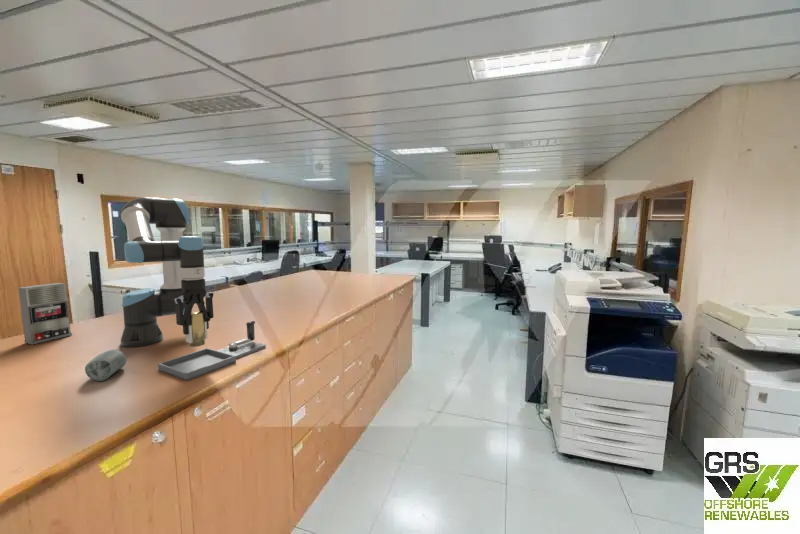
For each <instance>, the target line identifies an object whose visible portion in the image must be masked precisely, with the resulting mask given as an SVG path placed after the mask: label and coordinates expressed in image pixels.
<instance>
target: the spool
mask: <svg viewBox="0 0 800 534" xmlns="http://www.w3.org/2000/svg"><path fill="white" fill-rule="evenodd" d="M126 364H127V357H126V355H125V353H124V352H123V351H120V349H119V350H118V349H109V350H105V351H104V352H102V353H100V354H98V355H96V356H95V357H94V358H92V359H91V360H90V361H89V362H88V363H87V364H86V365H85V367H84V372H85V374H86V376H87V377H88V378H89V379H91V380H92V381H96V382H103V381H106V380H108V379H109V378H110V377H111V376H112V375H113V374H115V373H116V372H117V371H119V370H121V369H122V368H124V366H125V365H126Z"/></svg>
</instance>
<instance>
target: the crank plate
mask: <svg viewBox="0 0 800 534" xmlns="http://www.w3.org/2000/svg"><path fill="white" fill-rule="evenodd" d="M266 346H267V345H266V344H264V343H259V342H255V341H250V342H247V343H244V344H241V345H238V346H237V349H233V350H230V349H229V345H228V346H226V347H223V348H219V349H218V350H217V351H220V352H224V353H227V354H231V355H234V356H236V360H237V359H238V358H242V357H244V356H248V355H250V354H252V353H255V352H257V351H260V350H262V349H265V348H267V347H266Z"/></svg>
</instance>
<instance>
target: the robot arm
mask: <svg viewBox="0 0 800 534" xmlns="http://www.w3.org/2000/svg"><path fill="white" fill-rule="evenodd" d="M189 211H190V210H189V208H188V204H187V202H185V201H184V200H183V199H180V198H171V197H169V198H165V197H148V196H141V197H137V198H134V199H131V200H129V201H128V202H126V204H124V205H123V207H122V208H121V210H120V219H121V221H122V223H123V224H124V225H125V227H126V228H125V229H126V232H127V237H128V241H127V242H125V243H124V244H123V245H124V246H123V249H124V250H123V251H124V259H125V261H126V262H127V263H132V264H133V263H134V264H135V263H136V264H142V263H157V262H162V274H163V276H162V277H163V283H162V285H160V286H159V289H160V290H159V291H156V290H155V289H154V288H143V289H137V290H132V291H129V292H128V293H125V294H124V295H122V298H121V299H122V304H121V306H122V309H123V312H122V313H123V324H124V325H123V330H122V334H121V337H120V346H121V347H124V348H136V347H137V348H138V347H144V346H149V345H152V344H156V343H159V342H161V341H163V337H164V335H163V332H162V330H161V328H160V326H159V324H158V319H157V318H159V317H165V316H174V315H175V319H176V320H175V323H176V325H178V326H182V331H183V332H182V333H183V335H185V342H186V343H188V344H189V343H193V341H192V325H189V323H190V317H191V312H193V308H194V305H195V304H196V306H197V308H198V312H203V317H204V334H205V340H206V339H208V330H209V328H210V325H209V324H210V321H211V319H213V318H214V304H213V298H214V292H211V291H208V292H207V290H206V279H205V277H206V274H205V273H206V272H205V257H204V256H205V255H204V247H205V245H204V241H203V237H202V236H198V235H197V236H196V235H191V236H189V235H186V236H185V235H184V233H183V232H184V231H185V230H186V229H187V226H188V225H190V223H191V217H190V213H189ZM151 224H152V225H153V224H154V225H155V229H157V230H158V231H159V232H160V240H159V241H158V240H155V237H154V233H153V231H152V228H151ZM204 299H205V300H204Z"/></svg>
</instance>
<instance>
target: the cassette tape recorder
mask: <svg viewBox="0 0 800 534" xmlns="http://www.w3.org/2000/svg"><path fill="white" fill-rule="evenodd" d="M66 285H67V284H66V283H64V282H54V283H47V284H37V285H29V286H20V287H18V296H19V303H20V304H19V305H20V311H21V320H22V321H21V322H22V327H23V336H24V340H23V341H24V344H27V343H28V344H29V345H33V344H35V345H37V344H39V343H40V344H41V343H44V342H49V341H54V340H57V339H63V338H66V337H71V336H73V333H72V332H71V325H70V324H71V323H70V314H69V306H68V296H67V294H68V293H67V288H66V287H67V286H66ZM70 335H71V336H70ZM53 339H54V340H53ZM33 346H34V345H33Z"/></svg>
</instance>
